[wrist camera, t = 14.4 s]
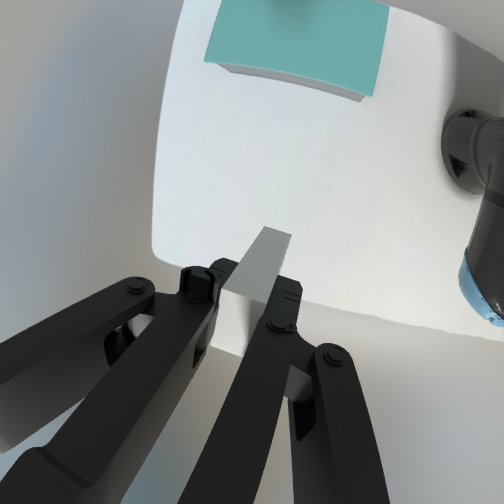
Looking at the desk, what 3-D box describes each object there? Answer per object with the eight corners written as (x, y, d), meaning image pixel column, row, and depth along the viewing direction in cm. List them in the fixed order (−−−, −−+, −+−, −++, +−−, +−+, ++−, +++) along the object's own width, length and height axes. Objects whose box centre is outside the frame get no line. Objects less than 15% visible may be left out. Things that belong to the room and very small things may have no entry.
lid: (386, 9, 23) (390, 2, 20) (369, 99, 30) (372, 96, 28) (236, -18, 26) (231, -25, 23) (210, 64, 33) (203, 60, 31)
